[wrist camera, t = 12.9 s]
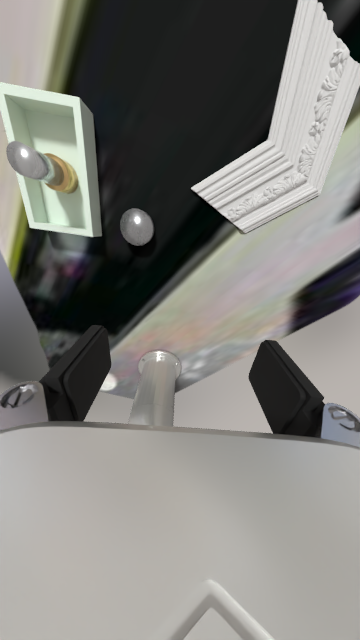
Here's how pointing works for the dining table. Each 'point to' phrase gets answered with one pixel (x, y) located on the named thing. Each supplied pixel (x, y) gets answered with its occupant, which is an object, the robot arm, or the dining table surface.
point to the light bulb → (42, 167)
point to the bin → (66, 143)
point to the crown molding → (292, 128)
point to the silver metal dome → (137, 227)
